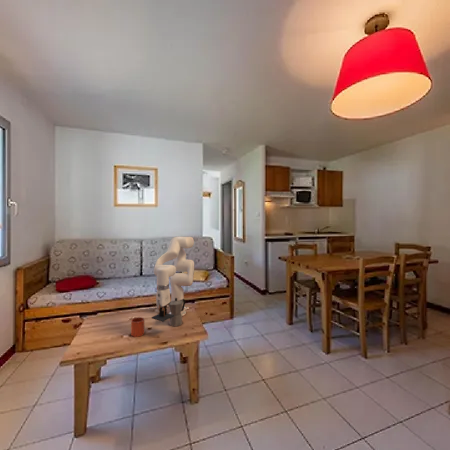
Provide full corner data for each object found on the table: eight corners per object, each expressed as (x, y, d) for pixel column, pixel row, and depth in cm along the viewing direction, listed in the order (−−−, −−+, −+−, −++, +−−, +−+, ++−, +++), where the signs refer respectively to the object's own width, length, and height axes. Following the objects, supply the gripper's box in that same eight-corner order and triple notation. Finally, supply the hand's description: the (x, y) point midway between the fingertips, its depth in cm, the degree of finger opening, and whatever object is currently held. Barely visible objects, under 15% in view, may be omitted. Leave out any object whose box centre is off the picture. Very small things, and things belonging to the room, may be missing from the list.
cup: (141, 329, 160) (141, 316, 160) (146, 334, 154) (146, 319, 154) (129, 333, 155) (129, 319, 155) (134, 338, 149) (134, 323, 149)
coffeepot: (173, 329, 162) (173, 302, 161) (164, 325, 167) (164, 299, 167) (189, 321, 174) (189, 296, 174) (180, 318, 180) (180, 293, 179)
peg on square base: (163, 312, 163) (163, 304, 162) (174, 316, 157) (174, 307, 157) (151, 318, 154) (151, 309, 154) (162, 322, 149) (162, 312, 149)
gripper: (161, 291, 146) (161, 321, 147) (174, 284, 161) (174, 311, 162) (150, 290, 148) (150, 319, 149) (164, 283, 164) (164, 310, 164)
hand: (163, 315), depth 156 cm, fingers closed on peg on square base, 2 cm apart
